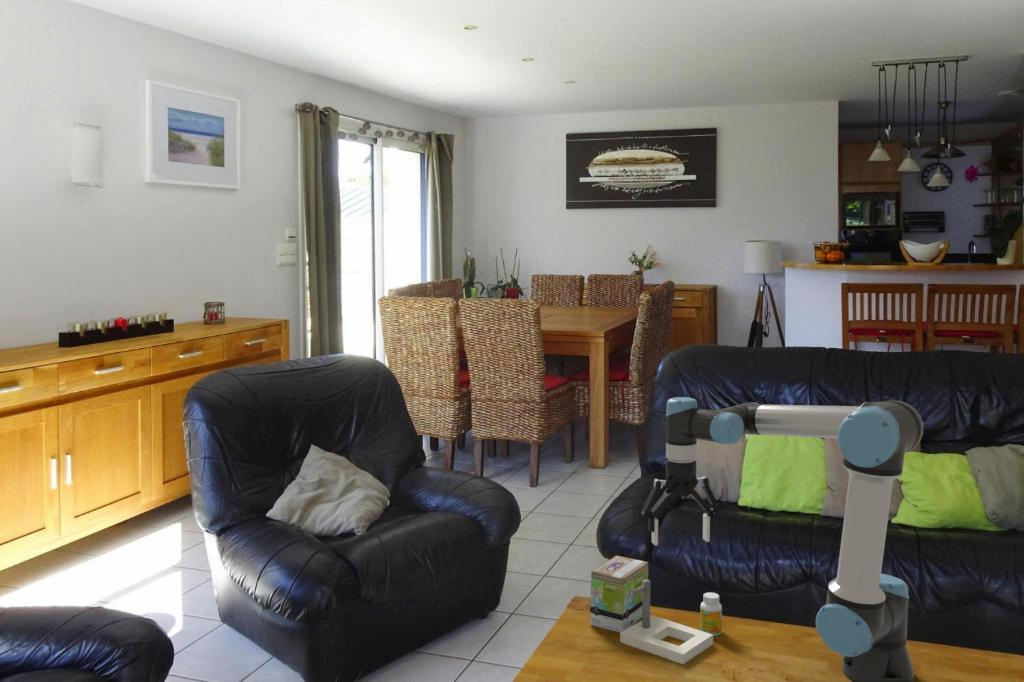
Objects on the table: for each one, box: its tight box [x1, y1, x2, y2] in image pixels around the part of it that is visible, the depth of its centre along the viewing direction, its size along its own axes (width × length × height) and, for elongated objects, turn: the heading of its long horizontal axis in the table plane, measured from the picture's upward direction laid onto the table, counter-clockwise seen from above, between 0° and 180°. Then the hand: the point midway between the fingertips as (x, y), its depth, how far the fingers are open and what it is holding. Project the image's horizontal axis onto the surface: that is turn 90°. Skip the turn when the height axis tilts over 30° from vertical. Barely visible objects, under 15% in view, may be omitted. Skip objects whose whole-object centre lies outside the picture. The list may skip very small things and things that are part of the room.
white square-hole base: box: [619, 579, 714, 665], centre depth 218 cm, size 18×14×14 cm
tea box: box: [589, 555, 649, 633], centre depth 233 cm, size 15×10×15 cm, turn 147°
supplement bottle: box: [699, 591, 723, 637], centre depth 225 cm, size 5×5×10 cm
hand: (680, 542), depth 223 cm, fingers open, 13 cm apart
